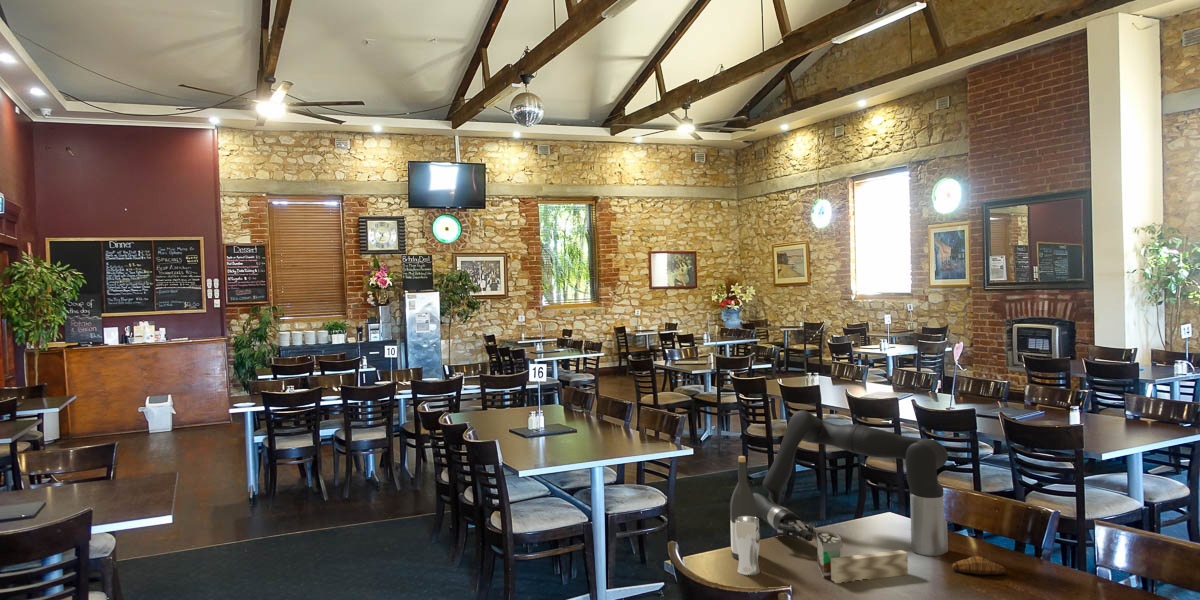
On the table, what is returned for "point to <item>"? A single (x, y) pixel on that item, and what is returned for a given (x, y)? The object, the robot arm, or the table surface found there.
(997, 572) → the croissant
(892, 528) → the table surface
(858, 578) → the maple board
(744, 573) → the beer glass
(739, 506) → the wine bottle
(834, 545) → the food container
